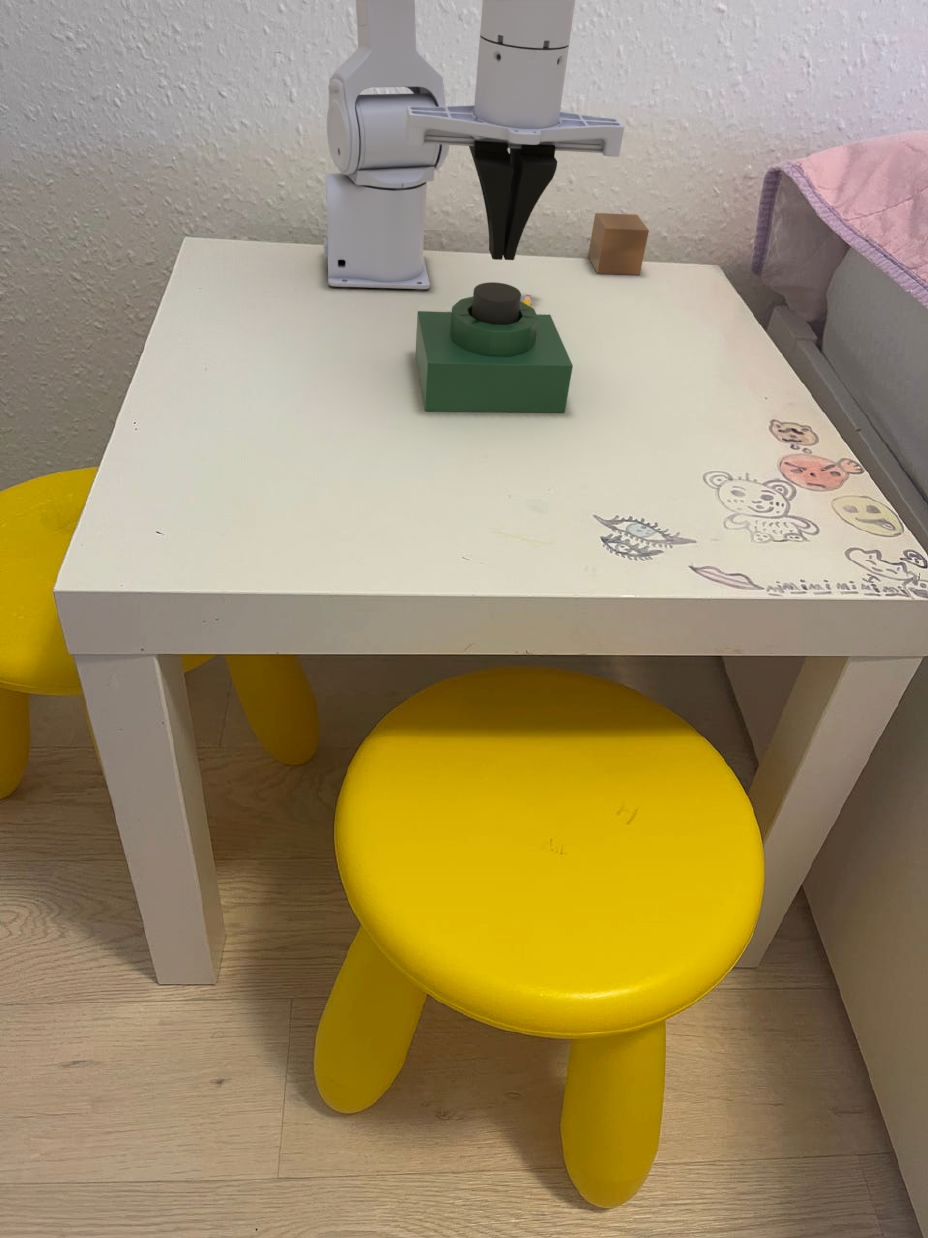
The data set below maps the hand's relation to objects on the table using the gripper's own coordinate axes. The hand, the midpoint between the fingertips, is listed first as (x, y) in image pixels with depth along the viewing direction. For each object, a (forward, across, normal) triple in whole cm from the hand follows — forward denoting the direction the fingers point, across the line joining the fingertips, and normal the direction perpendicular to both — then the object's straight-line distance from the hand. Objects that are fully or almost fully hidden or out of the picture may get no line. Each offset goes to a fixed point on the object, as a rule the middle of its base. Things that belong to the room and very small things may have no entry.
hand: (501, 254), depth 68 cm
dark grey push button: (+5, 0, 0) cm, 5 cm away
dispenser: (+10, 0, 0) cm, 10 cm away
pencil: (+11, +5, +13) cm, 18 cm away
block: (+10, +17, +26) cm, 33 cm away
